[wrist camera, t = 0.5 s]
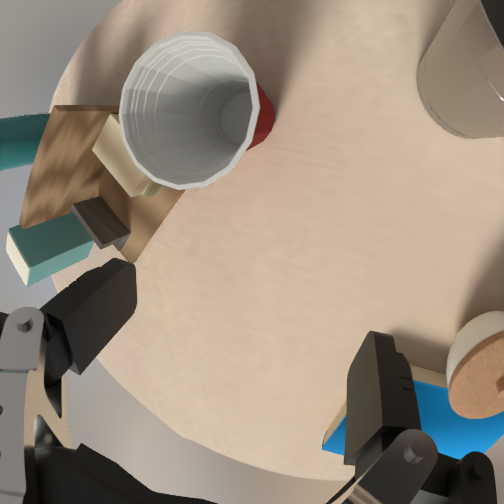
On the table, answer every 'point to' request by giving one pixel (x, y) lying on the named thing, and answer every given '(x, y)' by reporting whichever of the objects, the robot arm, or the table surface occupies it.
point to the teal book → (47, 247)
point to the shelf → (94, 181)
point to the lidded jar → (477, 367)
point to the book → (434, 420)
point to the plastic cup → (192, 110)
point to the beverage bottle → (20, 139)
